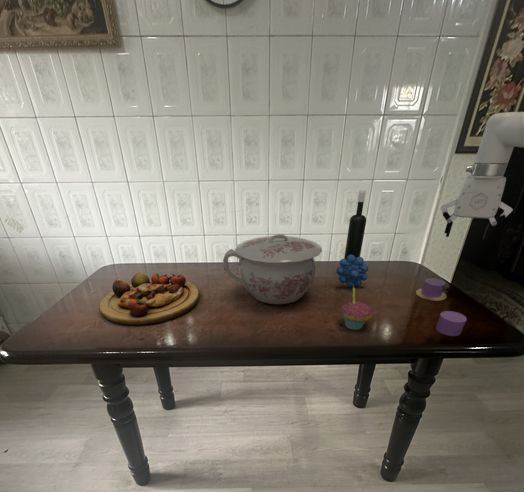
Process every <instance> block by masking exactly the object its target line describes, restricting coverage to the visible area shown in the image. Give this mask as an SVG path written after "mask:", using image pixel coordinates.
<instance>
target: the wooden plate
mask: <svg viewBox="0 0 524 492" xmlns="http://www.w3.org/2000/svg"><path fill="white" fill-rule="evenodd" d="M111 287H112V291H111V292H109V293H108V294H106V295H105V296H104V297H103V298H102V300H101V301H100V302H99V305H98V307H99V308H98V309H99V313H100V314H101V316H102V317H103V318H105V319H106V320H108V321H110V322H114V323H116V324H122V325H147V324H148V325H149V324H155V323H160V322H164V321H167V320H171V319H175V318H176V317H179V316H181V315H183V314H185V313H187V312H189V311H190V310H191V309H193V308H194V307H195V306H196V305H197V304H198V302H199V299H200V297H201V295H200V290H199V289H198V287H197V286H196V285H194V284H192V283H191V282H188V281H187V278H186V277H185V276H184V275H182V274H181V273H180V274H179V275H176V274H174V273H172V274H171V276H168V274H164V275H160V274H159V272H157V273H154V274H152V276H151V278H150V277H149V276H148V275H147V274H145V273H143V272H140V271H139V272H137V273H135V274H134V275H133V276H132V278H131V280H130V283H128V282H127V281H126V280H124V279H121V278H117V279H116V280H114V281H113V283H112V285H111Z"/></svg>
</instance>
